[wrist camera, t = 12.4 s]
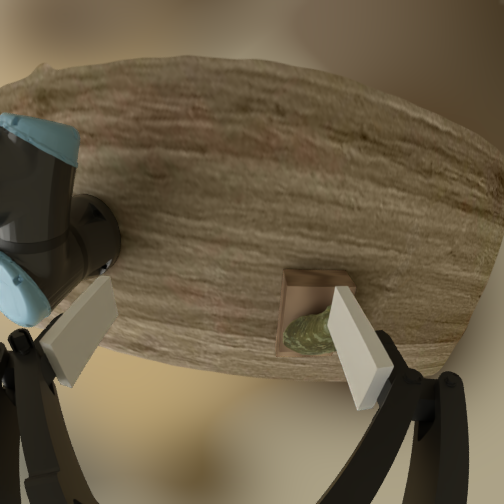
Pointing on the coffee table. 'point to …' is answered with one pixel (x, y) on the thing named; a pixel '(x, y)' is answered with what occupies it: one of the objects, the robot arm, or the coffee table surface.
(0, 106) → the coffee table surface
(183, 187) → the coffee table surface
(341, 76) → the coffee table surface
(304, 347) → the seashell
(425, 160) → the coffee table surface
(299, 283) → the block
